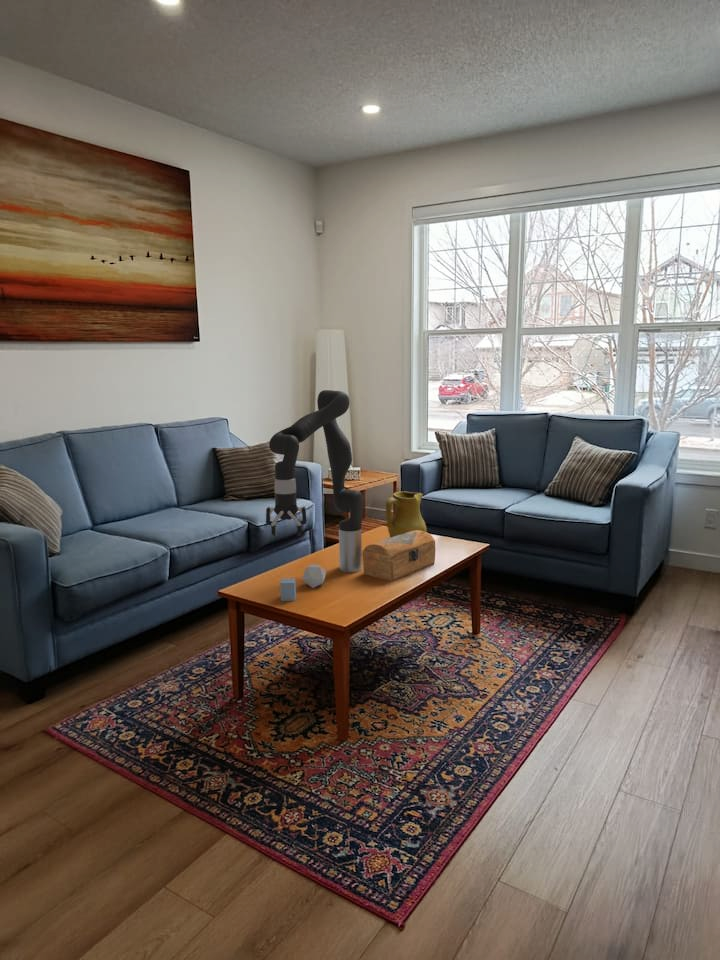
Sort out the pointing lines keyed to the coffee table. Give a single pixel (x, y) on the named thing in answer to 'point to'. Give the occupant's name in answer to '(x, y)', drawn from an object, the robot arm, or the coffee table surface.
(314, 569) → the die
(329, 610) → the coffee table surface
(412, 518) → the pitcher
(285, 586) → the block
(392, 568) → the wooden box
